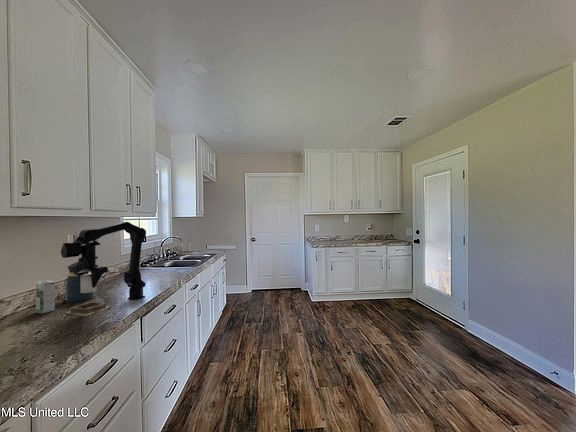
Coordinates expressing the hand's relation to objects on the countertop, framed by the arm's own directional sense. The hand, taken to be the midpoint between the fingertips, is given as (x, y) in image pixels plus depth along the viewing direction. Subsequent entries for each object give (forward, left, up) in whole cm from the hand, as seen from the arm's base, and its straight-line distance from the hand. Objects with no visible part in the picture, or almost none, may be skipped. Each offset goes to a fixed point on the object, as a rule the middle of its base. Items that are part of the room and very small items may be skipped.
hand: (88, 287), depth 136 cm
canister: (-13, -25, -12) cm, 31 cm away
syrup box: (+7, -20, -12) cm, 24 cm away
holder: (0, 0, -12) cm, 12 cm away
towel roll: (0, 0, -2) cm, 2 cm away
